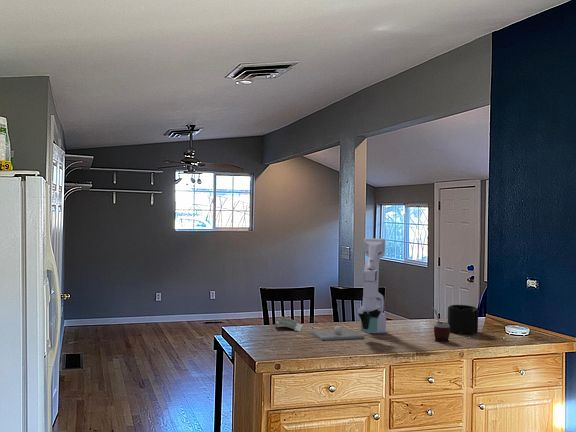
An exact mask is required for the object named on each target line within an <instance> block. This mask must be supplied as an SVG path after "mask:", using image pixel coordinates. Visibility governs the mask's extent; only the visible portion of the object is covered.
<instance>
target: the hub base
mask: <svg viewBox="0 0 576 432" xmlns="http://www.w3.org/2000/svg"><path fill="white" fill-rule="evenodd" d="M311 335H313V336H314V337H316V338H317V339H319V340H321V341H339V340H341V341H342V340H343V341H344V340H358V339H359V340H360V339H361V340H362V339H365V335H364V334H361V333H359V332H358V331H356V330H354V329H342V327H341V326H339V325H335V326H334V327H333V330H332V329H330V330H328V329H327V330H312V331H311Z"/></svg>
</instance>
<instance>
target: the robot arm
mask: <svg viewBox="0 0 576 432" xmlns="http://www.w3.org/2000/svg"><path fill="white" fill-rule="evenodd" d="M363 250H364V255H365V256H366V257H368V258H367V259H366V260H365V264H364V270H362V275H361V276H362V287H363V290H362V291H363V295H362V302H361V303H362V304H361V306H360V308H359V307H358V308H357V314H358V316H359V318H360V321H361V322H362V326H363V329H368V326H369V319H370V317H376V318H377V332H373V333H372V334H382V333H387V326H386V325H387V317H386V313H385V312H384V308H385V302H384V295H383V294H382V293H380V292H379V276H380V275H379V274H380V261H381V258H383V257H385V255H386V239H385V238H371V237H369V238H368V237H365V238H364V240H363ZM361 322H360V323H361ZM366 333H367V334H369V333H368V332H366Z"/></svg>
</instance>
